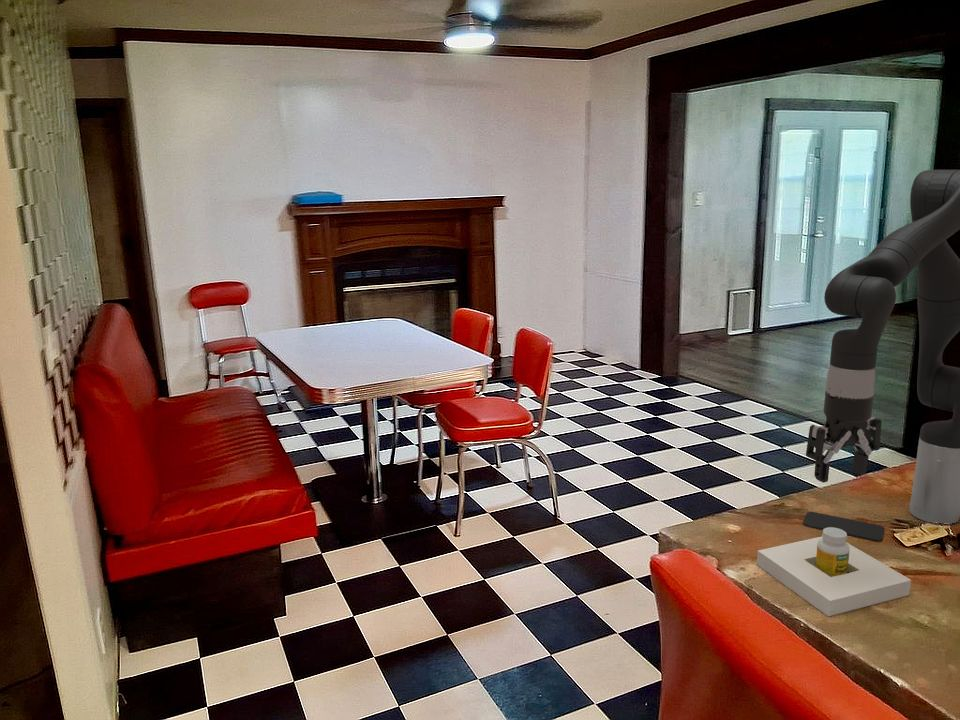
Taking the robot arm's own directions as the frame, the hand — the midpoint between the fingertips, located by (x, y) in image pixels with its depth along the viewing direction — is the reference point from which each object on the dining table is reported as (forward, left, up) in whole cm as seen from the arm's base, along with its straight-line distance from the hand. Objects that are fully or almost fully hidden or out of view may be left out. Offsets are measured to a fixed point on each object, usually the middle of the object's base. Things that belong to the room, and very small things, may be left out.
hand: (840, 476), depth 129 cm
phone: (-17, -14, -21) cm, 31 cm away
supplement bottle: (0, +1, -20) cm, 20 cm away
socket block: (+1, +1, -20) cm, 20 cm away
